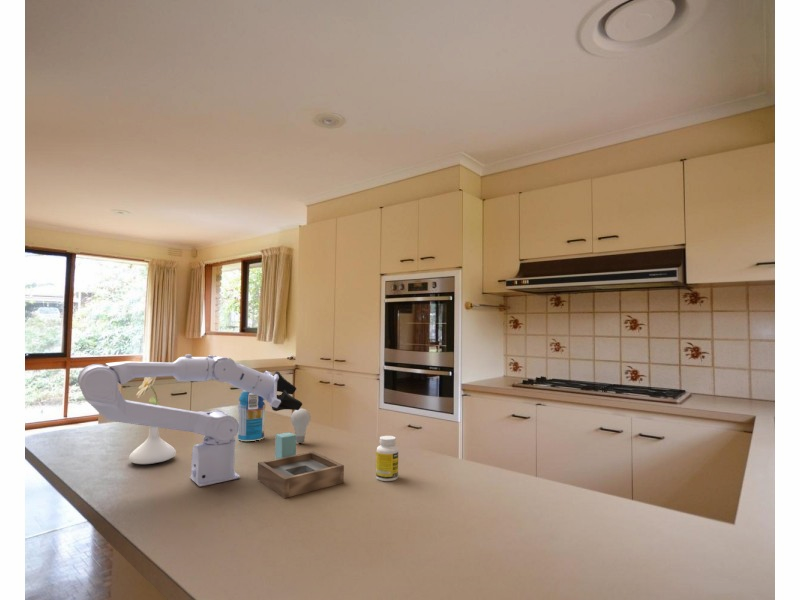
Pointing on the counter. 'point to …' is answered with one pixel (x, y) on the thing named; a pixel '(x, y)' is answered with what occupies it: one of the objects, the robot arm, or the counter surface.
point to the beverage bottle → (251, 416)
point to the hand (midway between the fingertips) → (297, 398)
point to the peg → (285, 445)
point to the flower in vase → (151, 436)
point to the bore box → (300, 473)
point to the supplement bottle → (387, 459)
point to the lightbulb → (300, 423)
